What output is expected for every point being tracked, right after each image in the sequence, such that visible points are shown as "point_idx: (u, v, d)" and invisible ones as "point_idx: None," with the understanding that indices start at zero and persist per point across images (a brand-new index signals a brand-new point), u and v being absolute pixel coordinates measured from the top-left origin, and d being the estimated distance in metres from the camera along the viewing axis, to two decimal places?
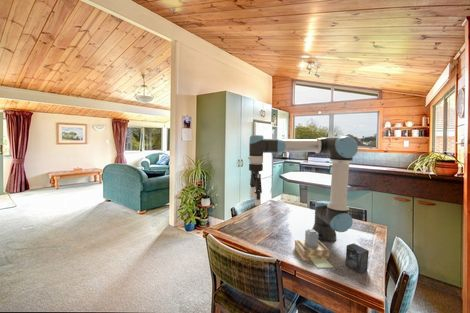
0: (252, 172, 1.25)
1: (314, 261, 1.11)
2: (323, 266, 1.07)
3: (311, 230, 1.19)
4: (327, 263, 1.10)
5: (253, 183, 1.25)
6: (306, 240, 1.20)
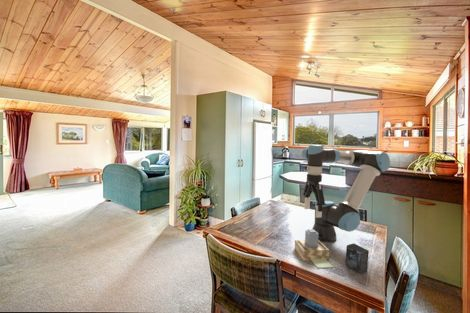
0: (307, 182, 1.22)
1: (314, 261, 1.11)
2: (323, 266, 1.07)
3: (311, 230, 1.19)
4: (327, 263, 1.10)
5: (308, 193, 1.22)
6: (306, 240, 1.20)
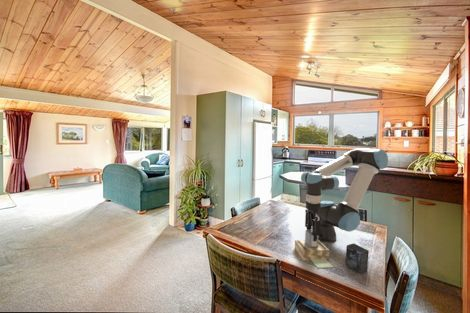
0: (307, 211, 1.23)
1: (314, 261, 1.11)
2: (323, 266, 1.07)
3: (311, 230, 1.19)
4: (327, 263, 1.10)
5: (310, 224, 1.21)
6: (306, 240, 1.20)
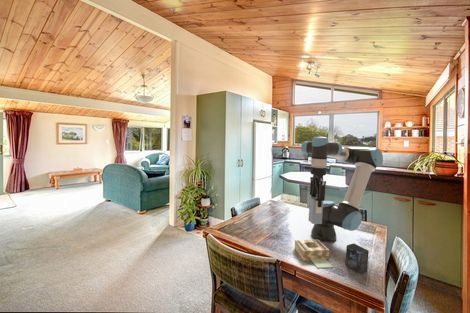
0: (312, 178, 1.18)
1: (314, 261, 1.11)
2: (323, 266, 1.07)
3: (316, 197, 1.14)
4: (327, 263, 1.10)
5: (314, 191, 1.16)
6: (310, 207, 1.14)
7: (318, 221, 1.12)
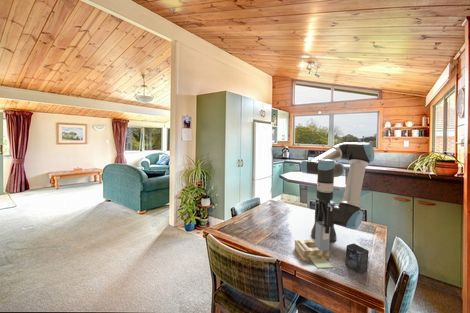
0: (317, 201, 1.13)
1: (314, 261, 1.11)
2: (323, 266, 1.07)
3: (322, 222, 1.09)
4: (327, 263, 1.10)
5: (320, 215, 1.11)
6: (316, 233, 1.10)
7: (326, 247, 1.07)
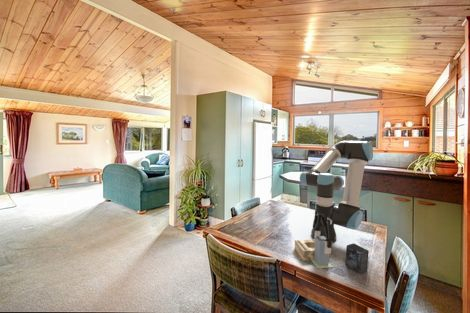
0: (316, 213, 1.14)
1: (314, 261, 1.11)
2: (323, 266, 1.07)
3: (321, 237, 1.10)
4: None
5: (318, 226, 1.13)
6: (316, 248, 1.10)
7: (325, 262, 1.08)
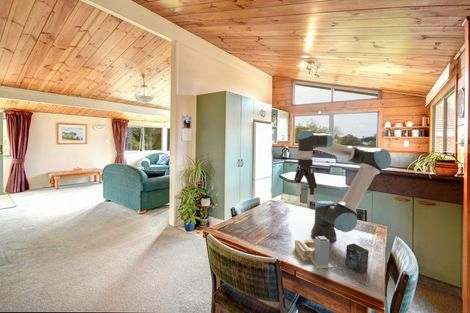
0: (298, 167, 1.24)
1: (314, 261, 1.11)
2: (323, 266, 1.07)
3: (321, 237, 1.10)
4: None
5: (299, 179, 1.24)
6: (316, 248, 1.10)
7: (325, 262, 1.08)
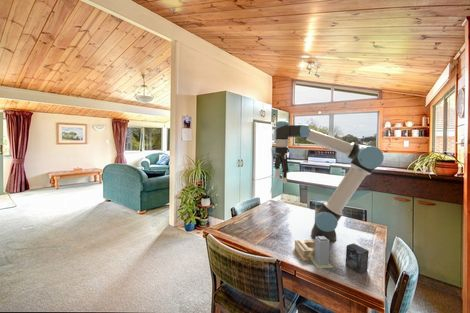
0: (277, 155, 1.40)
1: (314, 261, 1.11)
2: (323, 266, 1.07)
3: (321, 237, 1.10)
4: None
5: (278, 165, 1.40)
6: (316, 248, 1.10)
7: (325, 262, 1.08)
